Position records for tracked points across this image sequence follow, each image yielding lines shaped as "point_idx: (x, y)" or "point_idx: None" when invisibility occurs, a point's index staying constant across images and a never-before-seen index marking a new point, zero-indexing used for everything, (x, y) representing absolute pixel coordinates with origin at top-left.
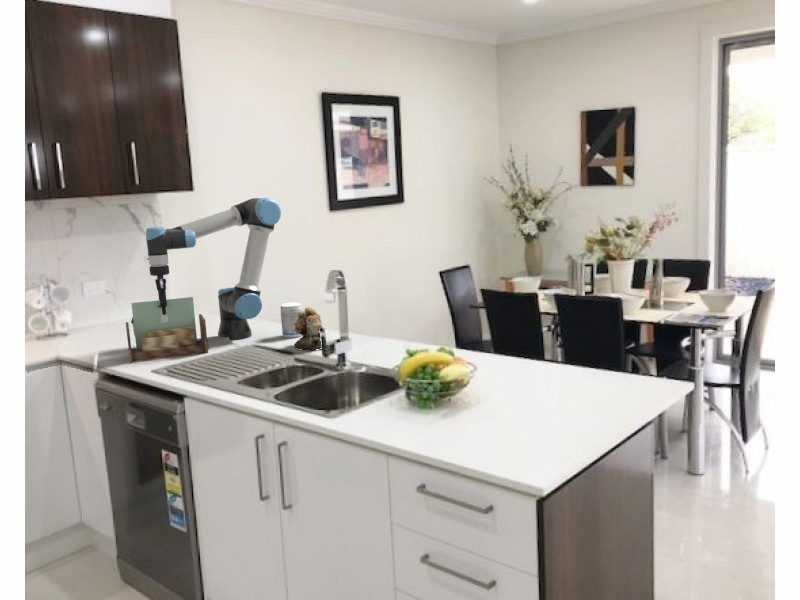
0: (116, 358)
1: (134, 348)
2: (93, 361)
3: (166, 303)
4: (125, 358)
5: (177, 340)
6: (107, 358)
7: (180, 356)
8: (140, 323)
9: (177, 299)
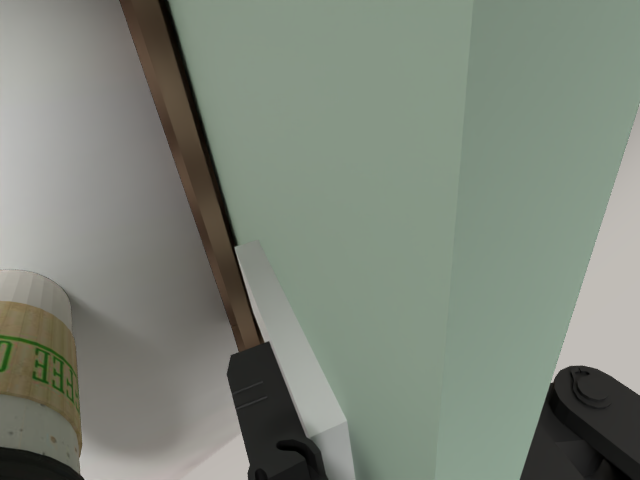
0: (190, 384)
1: (256, 336)
2: (219, 441)
3: (637, 397)
4: (205, 347)
5: None
6: (177, 419)
7: None
8: None
9: (540, 301)
